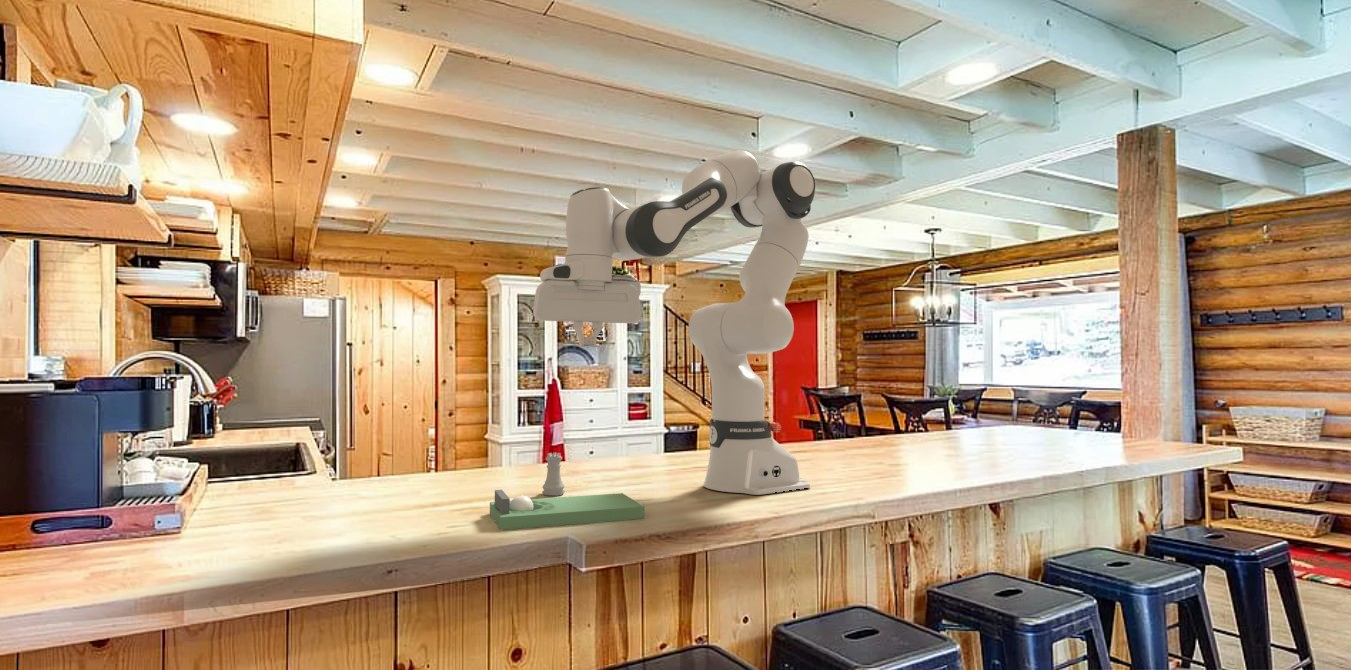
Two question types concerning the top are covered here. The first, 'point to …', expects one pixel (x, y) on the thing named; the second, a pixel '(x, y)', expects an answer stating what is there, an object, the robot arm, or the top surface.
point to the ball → (521, 503)
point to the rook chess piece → (553, 476)
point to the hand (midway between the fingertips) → (587, 346)
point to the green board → (565, 510)
